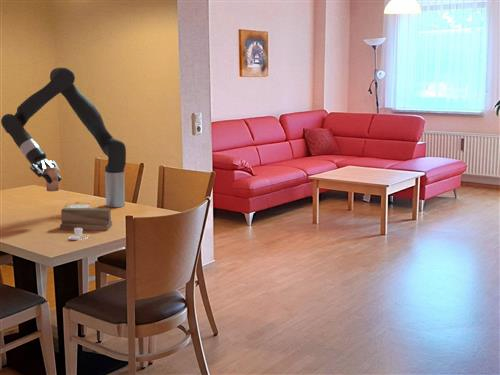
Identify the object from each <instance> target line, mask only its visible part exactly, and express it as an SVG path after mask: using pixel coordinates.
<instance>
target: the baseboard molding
mask: <svg viewBox="0 0 500 375" xmlns="http://www.w3.org/2000/svg"><path fill="white" fill-rule="evenodd" d="M68 204H69V203H68V202H67V203H66V204H65V208H90V204H81V203H80V201H79V202H75V203H74V204H71V205H69V206H68Z"/></svg>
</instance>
